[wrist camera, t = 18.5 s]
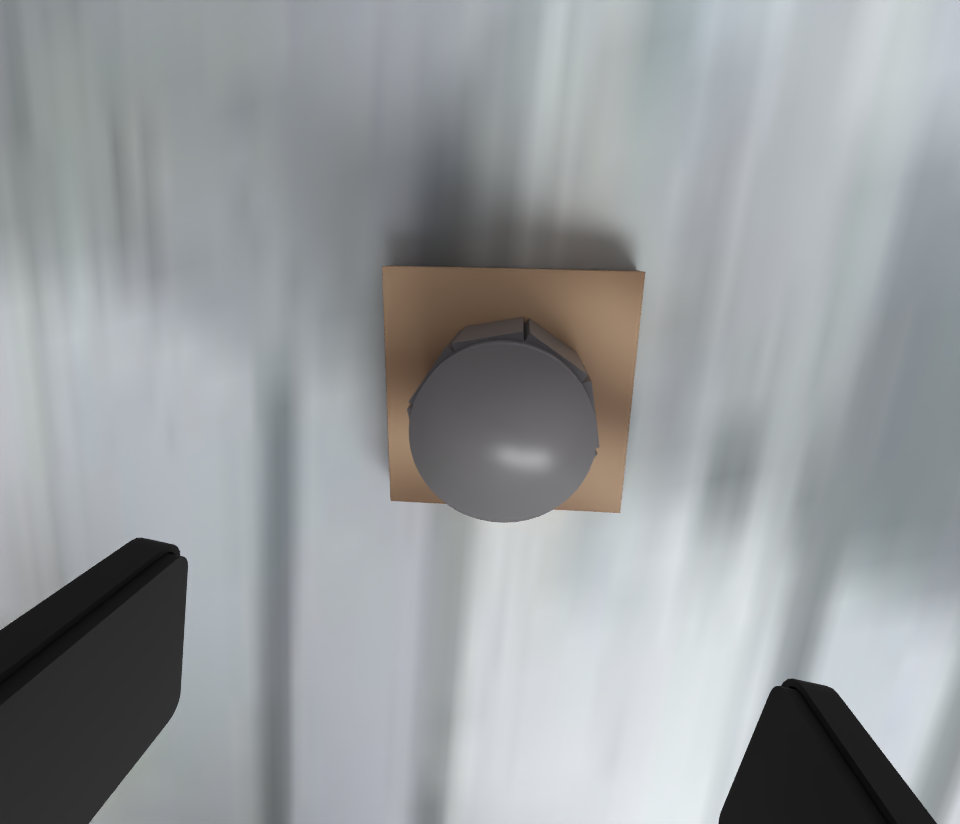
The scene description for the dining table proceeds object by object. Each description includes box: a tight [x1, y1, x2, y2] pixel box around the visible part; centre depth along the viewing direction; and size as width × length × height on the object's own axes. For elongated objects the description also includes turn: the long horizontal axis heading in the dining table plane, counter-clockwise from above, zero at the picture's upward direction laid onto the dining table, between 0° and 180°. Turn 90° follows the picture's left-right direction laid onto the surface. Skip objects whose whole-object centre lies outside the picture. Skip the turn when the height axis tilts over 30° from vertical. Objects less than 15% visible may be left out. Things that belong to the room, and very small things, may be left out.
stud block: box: [382, 266, 645, 513], centre depth 21 cm, size 10×10×5 cm
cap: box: [407, 317, 600, 523], centre depth 19 cm, size 6×6×5 cm
